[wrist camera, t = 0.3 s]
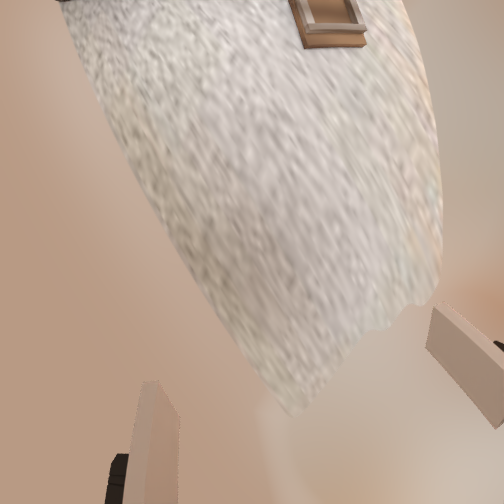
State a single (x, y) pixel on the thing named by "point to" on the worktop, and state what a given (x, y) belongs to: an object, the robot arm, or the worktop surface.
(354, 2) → the socket board
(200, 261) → the worktop surface
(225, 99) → the worktop surface
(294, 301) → the worktop surface
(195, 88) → the worktop surface
